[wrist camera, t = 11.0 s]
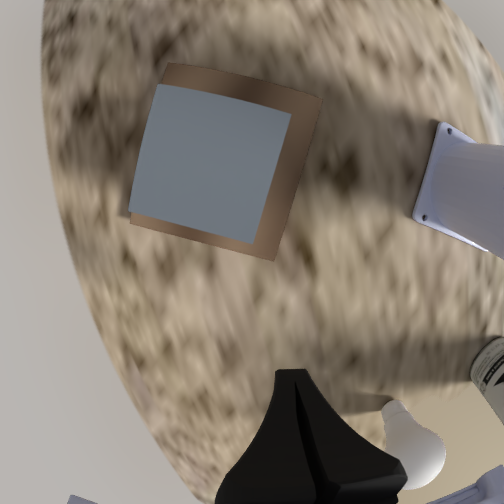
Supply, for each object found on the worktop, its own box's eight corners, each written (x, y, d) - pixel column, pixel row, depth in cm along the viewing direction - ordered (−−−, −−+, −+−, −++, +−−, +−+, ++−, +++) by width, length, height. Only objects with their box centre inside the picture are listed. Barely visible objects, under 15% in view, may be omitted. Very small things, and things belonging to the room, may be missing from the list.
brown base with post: (319, 101, 18) (345, 84, 12) (272, 255, 21) (279, 294, 16) (172, 66, 17) (143, 39, 11) (136, 219, 20) (97, 245, 15)
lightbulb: (412, 410, 27) (446, 483, 17) (362, 427, 28) (387, 506, 17) (417, 375, 25) (463, 454, 15) (362, 393, 26) (395, 484, 16)
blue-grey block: (278, 126, 17) (291, 114, 11) (253, 212, 19) (252, 244, 13) (189, 104, 17) (157, 83, 11) (167, 189, 19) (128, 211, 12)
